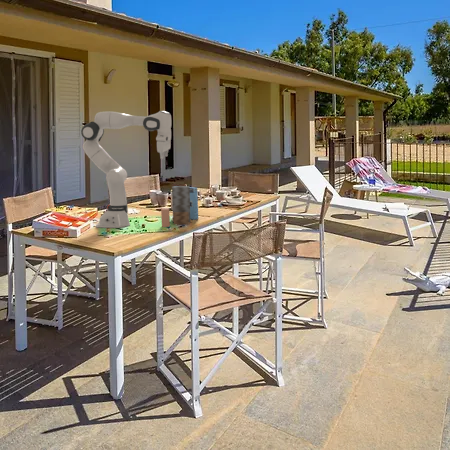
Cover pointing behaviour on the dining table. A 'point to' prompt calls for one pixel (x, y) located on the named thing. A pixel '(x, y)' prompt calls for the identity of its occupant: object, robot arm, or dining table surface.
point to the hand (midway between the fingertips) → (164, 157)
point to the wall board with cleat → (181, 205)
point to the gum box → (193, 203)
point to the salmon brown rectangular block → (165, 217)
